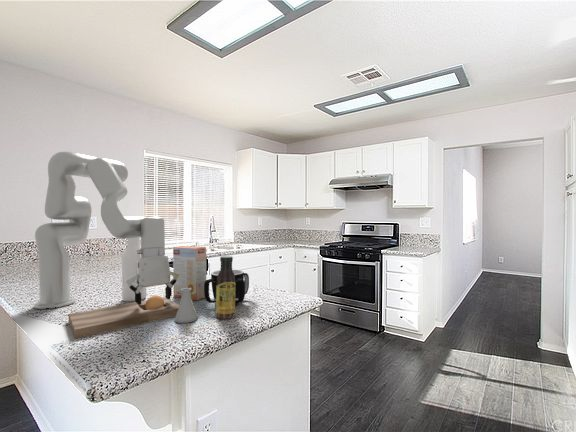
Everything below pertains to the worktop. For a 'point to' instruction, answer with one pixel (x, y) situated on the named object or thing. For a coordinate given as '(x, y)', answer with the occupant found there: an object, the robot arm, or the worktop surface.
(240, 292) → the mug
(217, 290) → the sauce bottle
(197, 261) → the cracker box
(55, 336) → the worktop surface
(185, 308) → the flask
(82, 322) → the board
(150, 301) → the orange ball
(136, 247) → the alcohol
